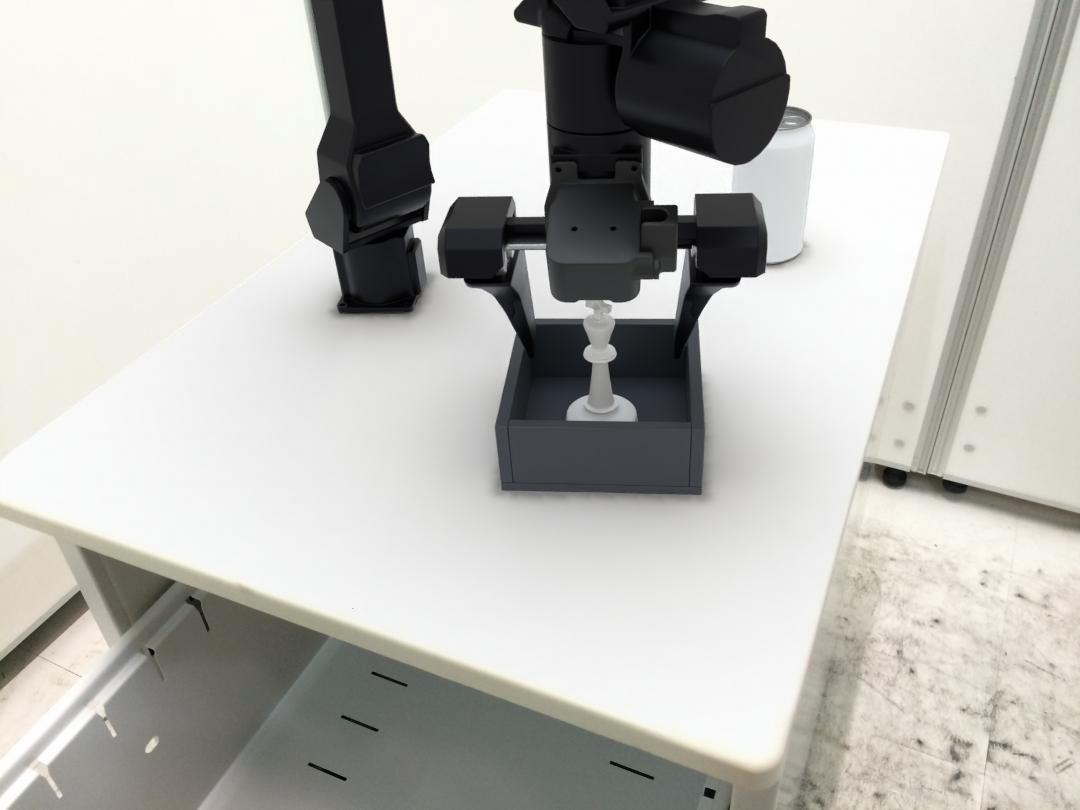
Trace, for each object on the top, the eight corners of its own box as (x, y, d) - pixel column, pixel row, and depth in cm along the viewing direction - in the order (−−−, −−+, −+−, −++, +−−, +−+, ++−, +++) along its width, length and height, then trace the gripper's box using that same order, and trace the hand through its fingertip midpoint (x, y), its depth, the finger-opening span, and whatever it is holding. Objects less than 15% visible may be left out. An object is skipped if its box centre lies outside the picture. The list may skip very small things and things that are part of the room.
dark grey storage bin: (501, 490, 60) (494, 426, 57) (524, 376, 70) (519, 318, 67) (701, 494, 58) (705, 430, 55) (695, 378, 68) (698, 318, 65)
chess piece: (594, 392, 67) (590, 267, 61) (652, 416, 64) (654, 288, 58) (550, 427, 64) (542, 299, 58) (609, 454, 61) (607, 323, 55)
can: (802, 267, 81) (819, 131, 74) (726, 264, 82) (734, 130, 75) (801, 233, 86) (816, 103, 79) (729, 231, 87) (737, 102, 80)
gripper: (398, 179, 46) (438, 430, 55) (790, 172, 44) (763, 436, 53) (441, 101, 55) (469, 329, 64) (768, 93, 53) (748, 330, 62)
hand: (604, 355), depth 60 cm, fingers open, 9 cm apart
